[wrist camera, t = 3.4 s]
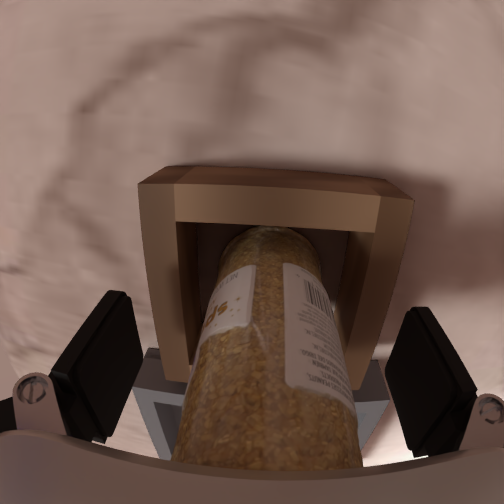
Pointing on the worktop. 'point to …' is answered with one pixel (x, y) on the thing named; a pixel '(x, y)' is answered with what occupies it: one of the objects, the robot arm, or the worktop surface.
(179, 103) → the worktop surface
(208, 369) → the sprinkles bottle
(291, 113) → the worktop surface
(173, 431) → the gray square tray
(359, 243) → the walnut holder
